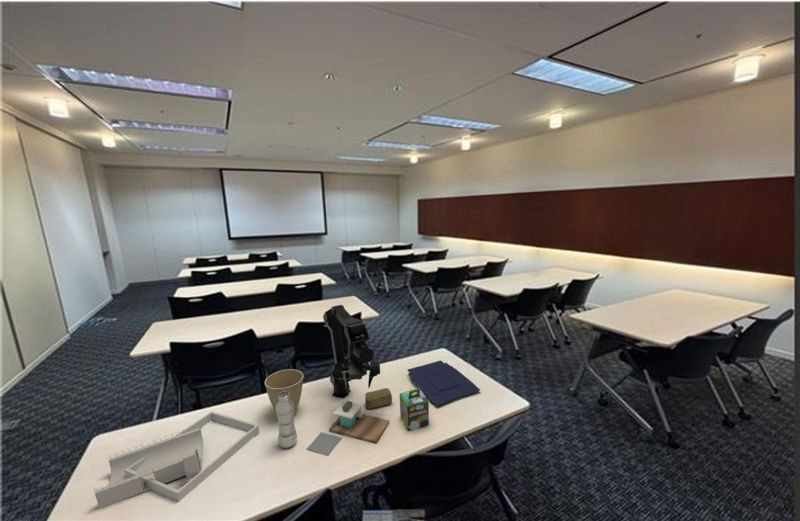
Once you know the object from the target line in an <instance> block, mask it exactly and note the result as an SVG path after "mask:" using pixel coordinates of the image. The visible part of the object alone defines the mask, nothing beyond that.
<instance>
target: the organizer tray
mask: <svg viewBox="0 0 800 521" xmlns="http://www.w3.org/2000/svg"><path fill="white" fill-rule="evenodd" d="M210 421H216V422H215V423H218V422H219V423H218V424H221V423H222V425H225V426H229V427H233V428H235V429H240V430H243V431H246V433H244V435H242V436H241V437H240V438H239V439H237V441H235V442H234V443H233V444H232V445H230V447H228V448H227V449H225V451H223V452H222V453H221V454H219V455H218V456H217V457H216V458H215V459H213V461H211V462H210V463H209V464H207V465H206V466H205V467H204V468H203V469H201V470H200V473H198V474H197V475H196V476H195V477H193V478H190V479H189V480H188V481H187V483H185V484H184V485H183V486H181V487H180V488H179V489H178V488H174V487H172V486H170V485H167V483H165V484H163V483H161V482H159V481H156V480H154V479H152V478H149V477H147V476H143V477H141V478H142V480H143V481H144V484H145V486H147V487H149V488H151V489H150V491H151V490H152V491H153V492H156V493H158V494H160V495H162V496H165V497H168V498H169V499H172V500H174V501H177V502H181V501H182V499H184V498H185V497H186V496H187V495H189V494H190V493H191V492H192V491H193V490H194V489H196V488H197V487H198V486H199V485H200V484H201V483H203V482H204V481H205V480H206V479H208V477H209V476H211V475H212V474H213V473H214V472H215V471H216V470H218V469H219V468H221V466H222V465H223V464H225V463H226V462H227V461H228V460H230V459H231V457H233V456H234V455H236V453H237V452H239V451H240V450H241V449H242V448H243V447H244V446H246V445H247V444H248V443H249V442H250V441H251V440H252V439H255V437H256V436H257V435H258V434H259V435H260V426H259V424H256V423H253V422H250V421H247V420H243V419H239V418H236V417H233V416H229V415H225V414H222V413H219V412H215V411H212V410H211V411H210V412H208V413H207V414H205V415H204V416H203V417H202V418H200V419H198V420H197V421H195V422H193V423H192V424H191V425H189V426H188V427H186V428H185V429H186V430H185V429H182V430H183V431H182V430H181V431H180V432H178V433H179V434H177V433H176V435H175V436H177V435H180V434H183V432H184V433H186V432H189V431H192V430H194V429H198V428H199V426H200V428H201V429H203V428H204V427H205V426H204V425H206V424H207V423H209V422H210ZM210 423H211V422H210ZM210 423H209V424H210ZM207 425H208V424H207ZM207 425H206V426H207ZM203 426H204V427H203ZM202 427H203V428H202ZM188 428H189V429H188ZM259 435H258V436H259ZM258 436H257V437H258ZM257 437H256V438H257ZM145 459H146V457H144V458H142V459H140V460H139V461H137V462H136V463H134V464H133V465H131V466H130V467H128V468H127V469H125V475H126V477H128V478H131V477H134V476H136V475H138V472H135V471H136V470H137V469H138V468H139V467H140V466H141V465H142V464H143V462H144V461H145ZM139 474H140V473H139ZM133 475H134V476H133ZM130 476H131V477H130Z"/></svg>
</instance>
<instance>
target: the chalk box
mask: <svg viewBox="0 0 800 521" xmlns="http://www.w3.org/2000/svg"><path fill="white" fill-rule="evenodd" d="M429 401H430V399H429V398H428V397H427V395H426V394H425V393H424V392H423V391H422V390H421V389H420V387H418V388H415V389H409V390H407V391H403V392H401V393H399V410H400V412H399V413H400V416H399V417H400V420H401V421H402V423H403V425H404V427H405V429H406V431H407V432H412V431H415V430H419V429H423V428H426V427H428V426H430V422H429V420H430V418H429V417H430V415H429V413H430V411H429V408H430V407H429V406H430V402H429Z"/></svg>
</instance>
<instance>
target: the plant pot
mask: <svg viewBox="0 0 800 521" xmlns="http://www.w3.org/2000/svg"><path fill="white" fill-rule="evenodd" d="M303 384H304V373H303V372H302V371H300V370H298V369H292V368H291V369H289V368H288V369H282V370H279V371H276V372H274V373H272V374H270V375H268V377H266V379H265V381H264V386H265V389H266V393H267V396H268V399H269V401H270V404H271V406H272V409H273V410H274V412H275V413H276V410H275V409H276V405H277V404H278V402H279V400H278V398H279V397H278V395H279V393H281V392H283V391H288V392H289V396H290V398H289V399H290V400H291V401H292V402H293V403H294V416H295V415H296V413H297V411H298V408H299V404H300V401H301V396H302V392H303Z"/></svg>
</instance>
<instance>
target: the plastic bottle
mask: <svg viewBox="0 0 800 521" xmlns="http://www.w3.org/2000/svg"><path fill="white" fill-rule="evenodd" d="M278 397H279V398H278V400H279V402H278V404H277V405H276V409H275V410H276V412H275V414H276V417H277V418H276V419H277V422H278V436H277V437H278V438H277V439H278V440H277V442H278V444H279V446H280V447H281V448H283V449H290V448H292V447H293V446H294V445H295V444H296V442H297V440H298V439H297V438H298V435H297V430H296V426H295V425H296V424H295V417H294V416H295V415H294V403H293V402H292V401H291V400H290V399H289V398H290V396H289V392H288V391H283V392H281V393H279V395H278ZM275 410H274V411H275Z"/></svg>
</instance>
